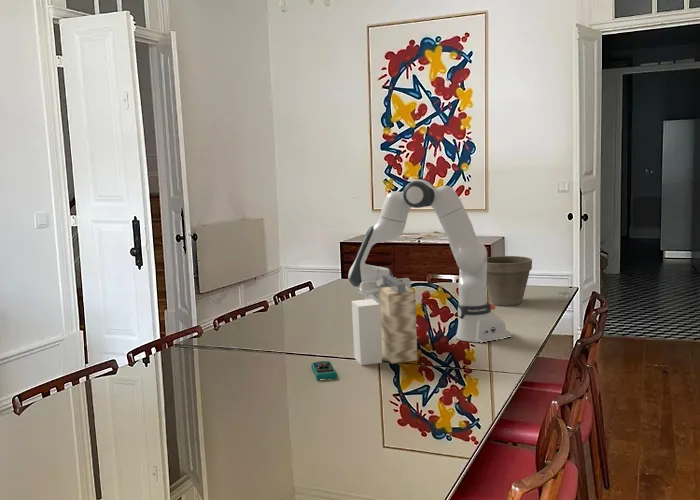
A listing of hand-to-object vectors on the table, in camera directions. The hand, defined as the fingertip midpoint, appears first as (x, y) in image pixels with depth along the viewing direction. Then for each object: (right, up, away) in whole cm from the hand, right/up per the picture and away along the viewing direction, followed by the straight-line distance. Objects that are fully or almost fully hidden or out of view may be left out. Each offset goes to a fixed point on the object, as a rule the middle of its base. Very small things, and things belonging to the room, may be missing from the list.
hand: (389, 279), depth 268 cm
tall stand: (+4, -29, -5) cm, 30 cm away
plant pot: (+61, -15, +73) cm, 97 cm away
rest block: (-8, -30, -7) cm, 32 cm away
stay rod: (+1, -3, -5) cm, 6 cm away
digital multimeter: (-24, -33, -20) cm, 46 cm away
